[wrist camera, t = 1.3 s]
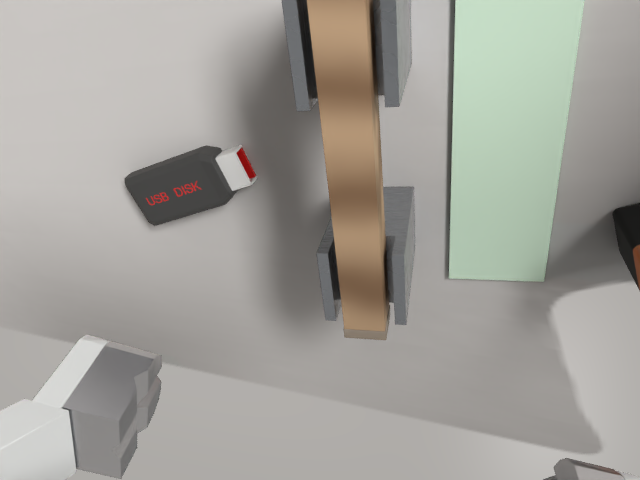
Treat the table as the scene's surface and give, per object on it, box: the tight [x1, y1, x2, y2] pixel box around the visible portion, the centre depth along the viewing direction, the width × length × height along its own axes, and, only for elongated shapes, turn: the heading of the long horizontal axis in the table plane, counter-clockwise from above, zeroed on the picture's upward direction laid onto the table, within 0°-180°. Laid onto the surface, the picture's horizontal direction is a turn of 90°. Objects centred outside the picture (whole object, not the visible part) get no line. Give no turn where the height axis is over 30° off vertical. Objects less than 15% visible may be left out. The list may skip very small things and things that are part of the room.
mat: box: [449, 0, 585, 282], centre depth 37 cm, size 8×28×1 cm, turn 6°
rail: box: [307, 0, 390, 340], centre depth 32 cm, size 24×3×3 cm, turn 6°
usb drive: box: [125, 145, 257, 225], centre depth 45 cm, size 5×12×3 cm, turn 113°
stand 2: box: [317, 187, 415, 325], centre depth 40 cm, size 6×6×10 cm
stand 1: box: [282, 0, 412, 111], centre depth 32 cm, size 6×6×10 cm
